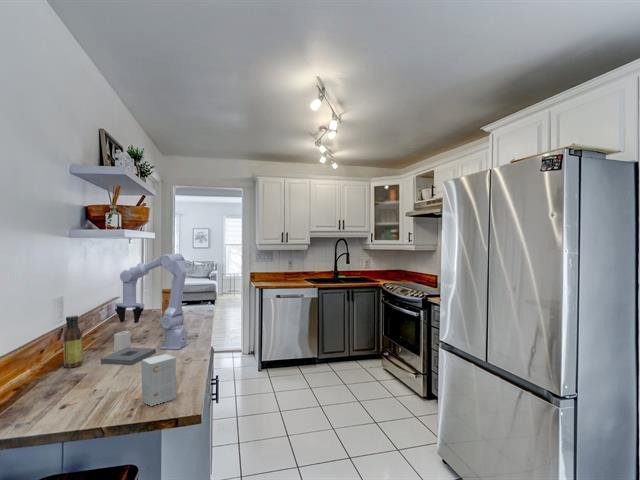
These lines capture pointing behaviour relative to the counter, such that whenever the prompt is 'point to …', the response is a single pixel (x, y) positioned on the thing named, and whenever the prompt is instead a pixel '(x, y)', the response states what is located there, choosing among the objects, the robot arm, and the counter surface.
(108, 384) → the counter surface
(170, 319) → the robot arm
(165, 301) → the coffee package
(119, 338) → the plug
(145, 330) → the counter surface
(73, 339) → the sauce bottle
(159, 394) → the small box
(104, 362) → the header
